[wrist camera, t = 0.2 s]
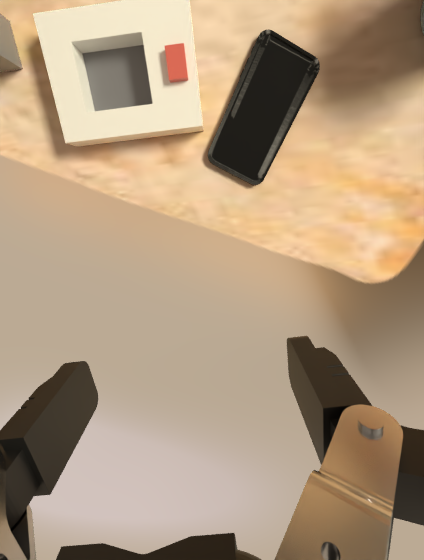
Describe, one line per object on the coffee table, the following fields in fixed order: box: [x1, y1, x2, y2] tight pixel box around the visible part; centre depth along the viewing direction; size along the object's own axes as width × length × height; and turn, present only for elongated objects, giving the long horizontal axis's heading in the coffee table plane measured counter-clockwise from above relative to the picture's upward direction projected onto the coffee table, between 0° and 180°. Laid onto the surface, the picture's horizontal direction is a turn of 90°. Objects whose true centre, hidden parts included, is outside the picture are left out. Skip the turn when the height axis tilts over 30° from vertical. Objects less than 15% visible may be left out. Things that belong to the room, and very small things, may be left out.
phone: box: [208, 30, 320, 185], centre depth 33 cm, size 8×1×15 cm
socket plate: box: [33, 0, 204, 147], centre depth 31 cm, size 12×16×4 cm
